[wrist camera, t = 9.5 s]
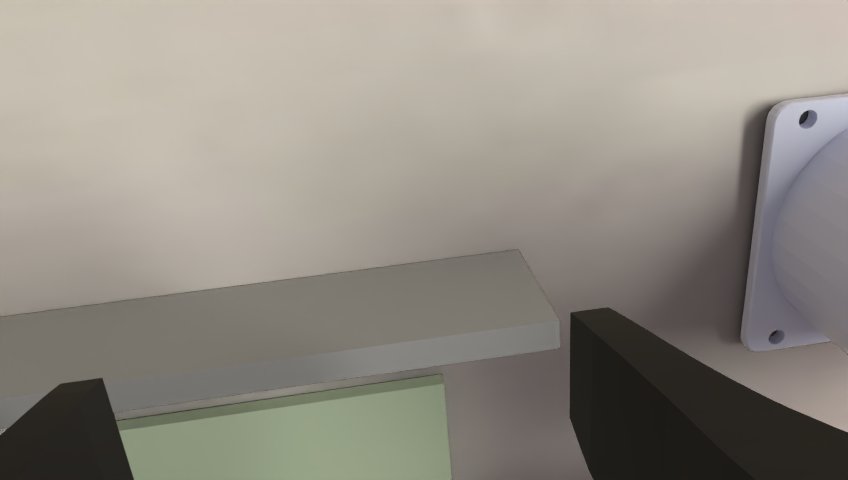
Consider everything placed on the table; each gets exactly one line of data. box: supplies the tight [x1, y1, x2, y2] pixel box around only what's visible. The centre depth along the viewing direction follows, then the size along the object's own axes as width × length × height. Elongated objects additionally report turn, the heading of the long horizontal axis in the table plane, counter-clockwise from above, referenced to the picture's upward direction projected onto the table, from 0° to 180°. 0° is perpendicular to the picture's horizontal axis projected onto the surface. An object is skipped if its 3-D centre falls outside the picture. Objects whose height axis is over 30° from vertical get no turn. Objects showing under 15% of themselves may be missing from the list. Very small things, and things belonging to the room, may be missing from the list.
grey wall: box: [0, 250, 560, 429], centre depth 19 cm, size 16×1×4 cm, turn 94°
